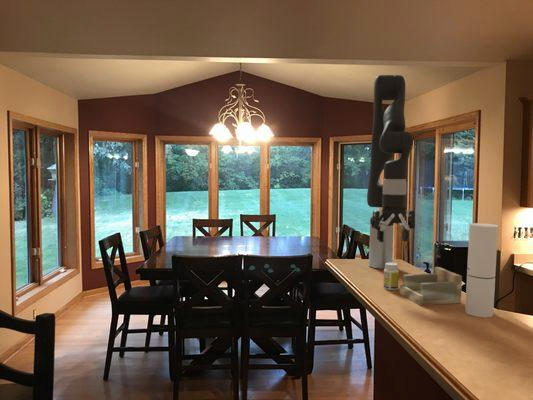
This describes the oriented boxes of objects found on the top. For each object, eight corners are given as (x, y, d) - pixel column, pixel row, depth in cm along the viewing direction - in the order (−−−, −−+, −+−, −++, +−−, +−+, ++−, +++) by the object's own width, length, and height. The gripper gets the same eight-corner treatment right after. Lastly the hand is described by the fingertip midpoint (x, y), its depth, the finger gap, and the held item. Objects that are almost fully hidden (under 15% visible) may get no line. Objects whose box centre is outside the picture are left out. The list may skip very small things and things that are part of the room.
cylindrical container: (487, 309, 128) (491, 223, 126) (497, 317, 121) (502, 227, 119) (461, 308, 129) (465, 222, 127) (470, 316, 122) (474, 226, 120)
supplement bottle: (399, 287, 150) (400, 263, 149) (397, 291, 146) (397, 266, 145) (384, 285, 152) (385, 261, 151) (382, 289, 148) (383, 264, 147)
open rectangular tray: (399, 293, 143) (400, 268, 142) (437, 291, 146) (438, 266, 145) (419, 305, 131) (420, 278, 130) (460, 302, 134) (462, 276, 133)
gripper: (408, 192, 151) (406, 239, 152) (369, 192, 148) (367, 240, 150) (420, 193, 144) (418, 243, 145) (379, 193, 141) (377, 244, 142)
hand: (392, 241), depth 147 cm, fingers open, 8 cm apart
